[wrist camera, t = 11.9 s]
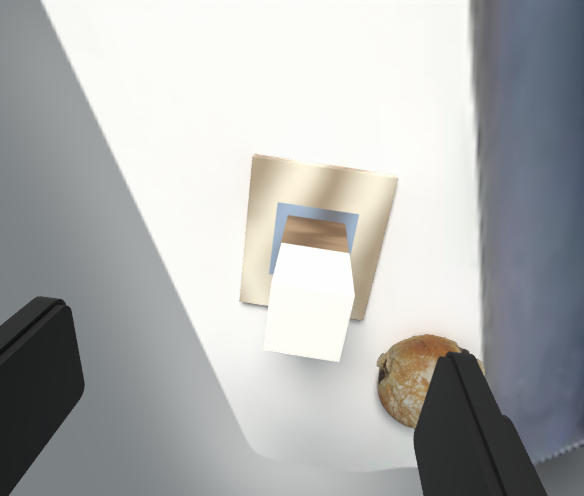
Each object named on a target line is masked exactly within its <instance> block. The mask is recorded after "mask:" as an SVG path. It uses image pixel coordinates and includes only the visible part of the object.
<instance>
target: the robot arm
mask: <svg viewBox="0 0 584 496" xmlns="http://www.w3.org/2000/svg"><path fill="white" fill-rule="evenodd" d="M84 386H85V384H84V378H83V373H82V367H81V361H80V355H79V350H78V345H77V339H76V333H75V328H74V322H73V317H72V311H71V308H70V307H69V306H66V303H65V302H64V301H63V300H62V299H56V298H48V297H41V296H40V297H36V298H34V299H33V300H31V301H30V302H29V303H28V304H27V305H25V306H24V307H23V308H22V309H20V310H19V311H18V312H17V313H15V314H14V315H13V316H12V317H11V318H9V319H8V320H7V321H6V322H4V323H3V324H2V325H1V326H0V496H9V494H10V493H11V492H12V490H13V489H14V487H15V486H16V485H17V483H18V482H19V481H20V479H21V478H22V477H23V475H24V474H25V473H26V471H27V470H28V469H29V467H30V466H31V465H32V463H33V462H34V460H35V459H36V458H37V456H38V455H39V454H40V452H41V451H42V450H43V448H44V447H45V445H46V444H47V443H48V442H49V440H50V439H51V438H52V436H53V435H54V433H55V432H56V431H57V429H58V428H59V427H60V425H61V424H62V423H63V421H64V420H65V419H66V417H67V416H68V415H69V413H70V412H71V410H72V409H73V408H74V406H75V405H76V404H77V402H78V401H79V400H80V398H81V396H82V394H83V391H84ZM414 450H415V455H416V460H417V465H418V470H419V475H420V480H421V485H422V490H423V495H424V496H547V493H546V491H545V489H544V487H543V485H542V483H541V481H540V479H539V477H538V475H537V473H536V470H535V468H534V466H533V464H532V462H531V460H530V458H529V456H528V454H527V452H526V450H525V447H524V445H523V443H522V441H521V439H520V437H519V435H518V433H517V431H516V429H515V426H514V425H513V423H512V421H511V420H510V419H509V418H508V417H507V416H505V415H502V414H501V412H500V409H499V407H498V405H497V403H496V401H495V399H494V396H493V394H492V392H491V390H490V388H489V385H488V383H487V381H486V379H485V377H484V375H483V372H482V370H481V368H480V366H479V364H478V362H477V359H476V358H475V356H474V355H472V354H466V353H459V352H451V351H449V352H448V353H447V354H446V356H445V357H443V356H440V357H439V358H438V360H437V363H436V366H435V369H434V372H433V375H432V378H431V381H430V385H429V388H428V391H427V394H426V397H425V400H424V403H423V406H422V410H421V413H420V416H419V419H418V422H417V425H416V428H415V432H414Z"/></svg>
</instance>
